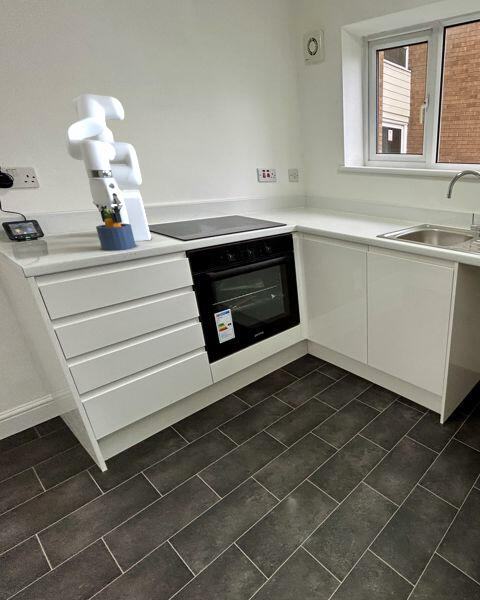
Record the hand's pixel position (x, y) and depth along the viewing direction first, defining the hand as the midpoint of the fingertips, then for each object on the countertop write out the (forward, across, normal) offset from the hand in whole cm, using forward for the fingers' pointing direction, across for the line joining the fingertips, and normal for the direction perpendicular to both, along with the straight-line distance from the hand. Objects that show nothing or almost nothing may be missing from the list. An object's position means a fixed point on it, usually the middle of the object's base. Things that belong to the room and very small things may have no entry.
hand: (112, 221), depth 142 cm
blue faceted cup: (+11, 0, 0) cm, 11 cm away
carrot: (+10, 0, 0) cm, 10 cm away
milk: (+11, +6, -15) cm, 20 cm away
